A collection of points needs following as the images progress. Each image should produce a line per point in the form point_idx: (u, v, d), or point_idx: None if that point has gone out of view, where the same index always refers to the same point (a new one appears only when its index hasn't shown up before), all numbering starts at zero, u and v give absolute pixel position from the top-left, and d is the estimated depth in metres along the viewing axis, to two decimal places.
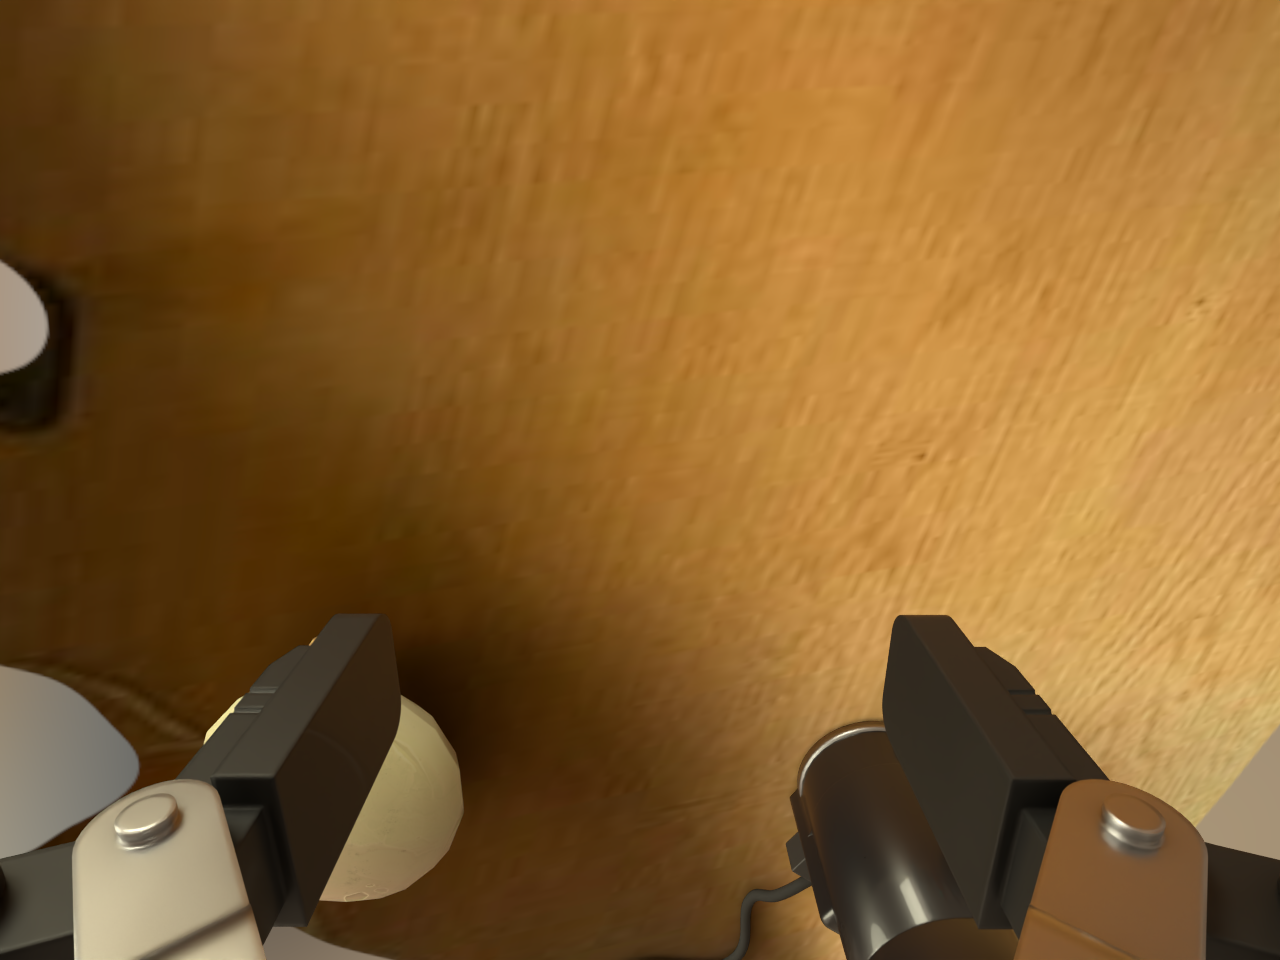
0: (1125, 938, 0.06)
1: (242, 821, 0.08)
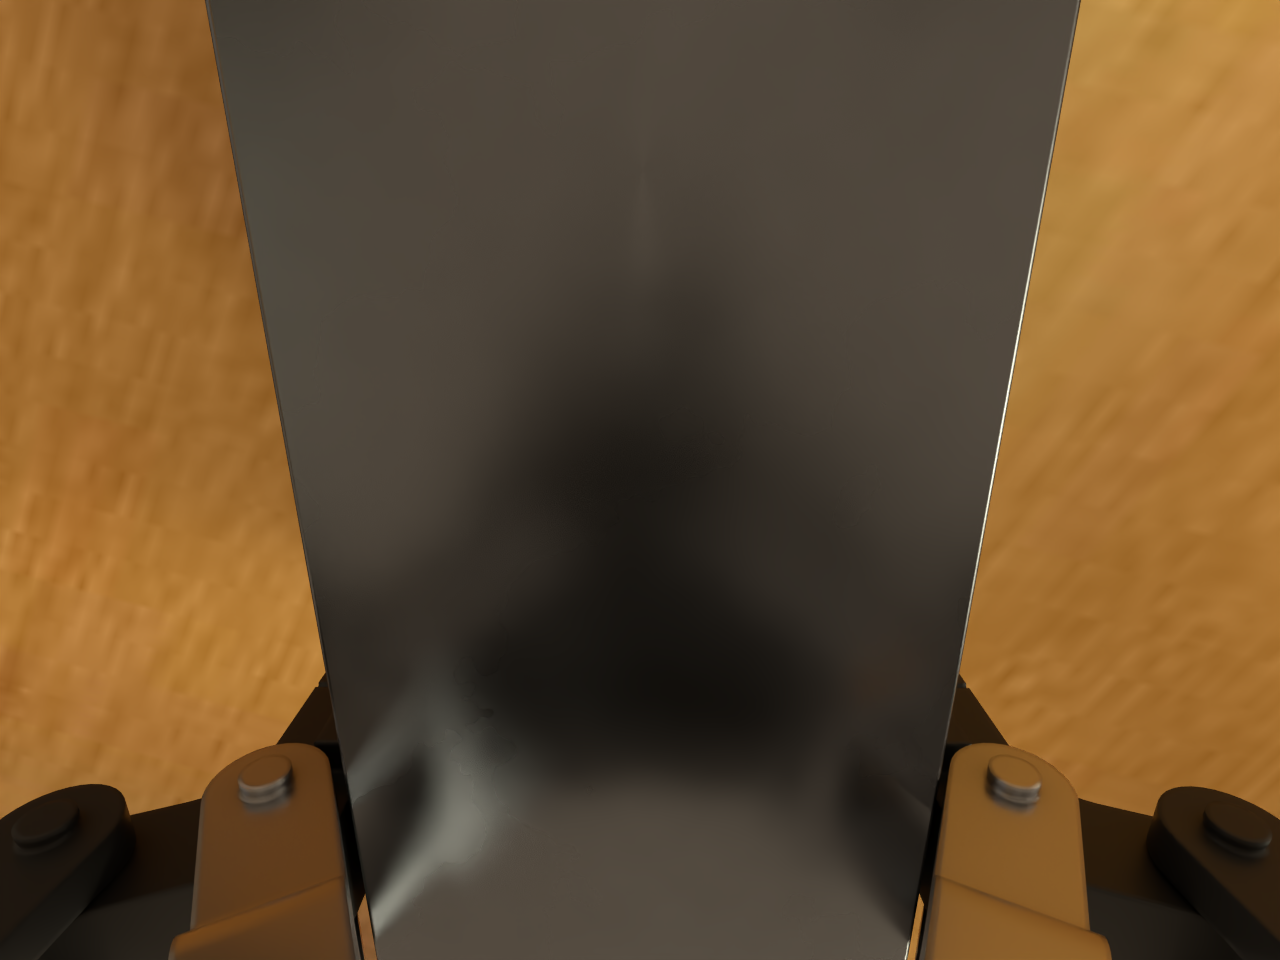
0: (987, 879, 0.06)
1: (345, 783, 0.08)
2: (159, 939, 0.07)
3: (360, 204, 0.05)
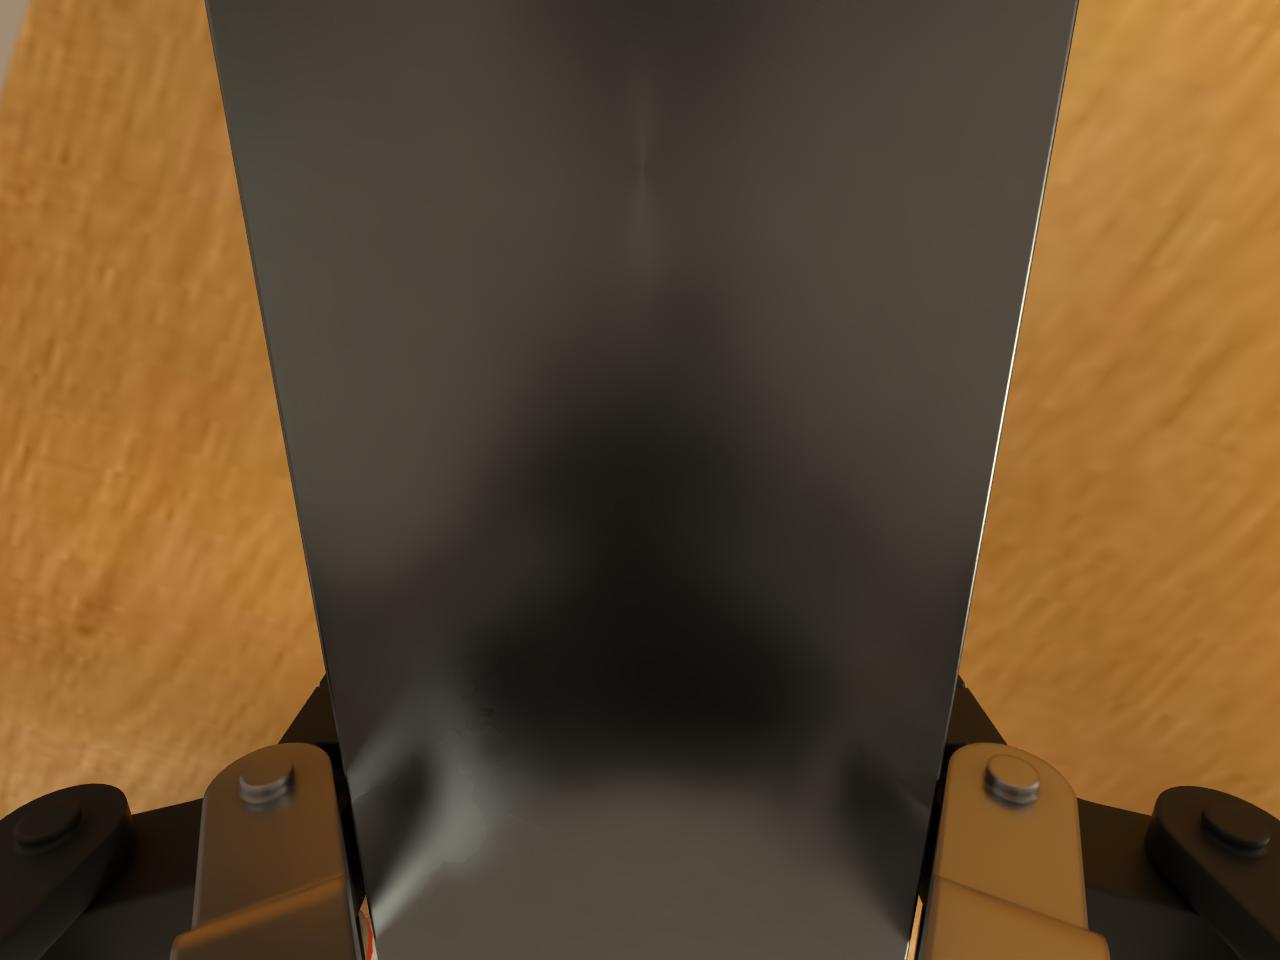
0: (985, 879, 0.06)
1: None
2: (160, 939, 0.07)
3: (359, 204, 0.05)
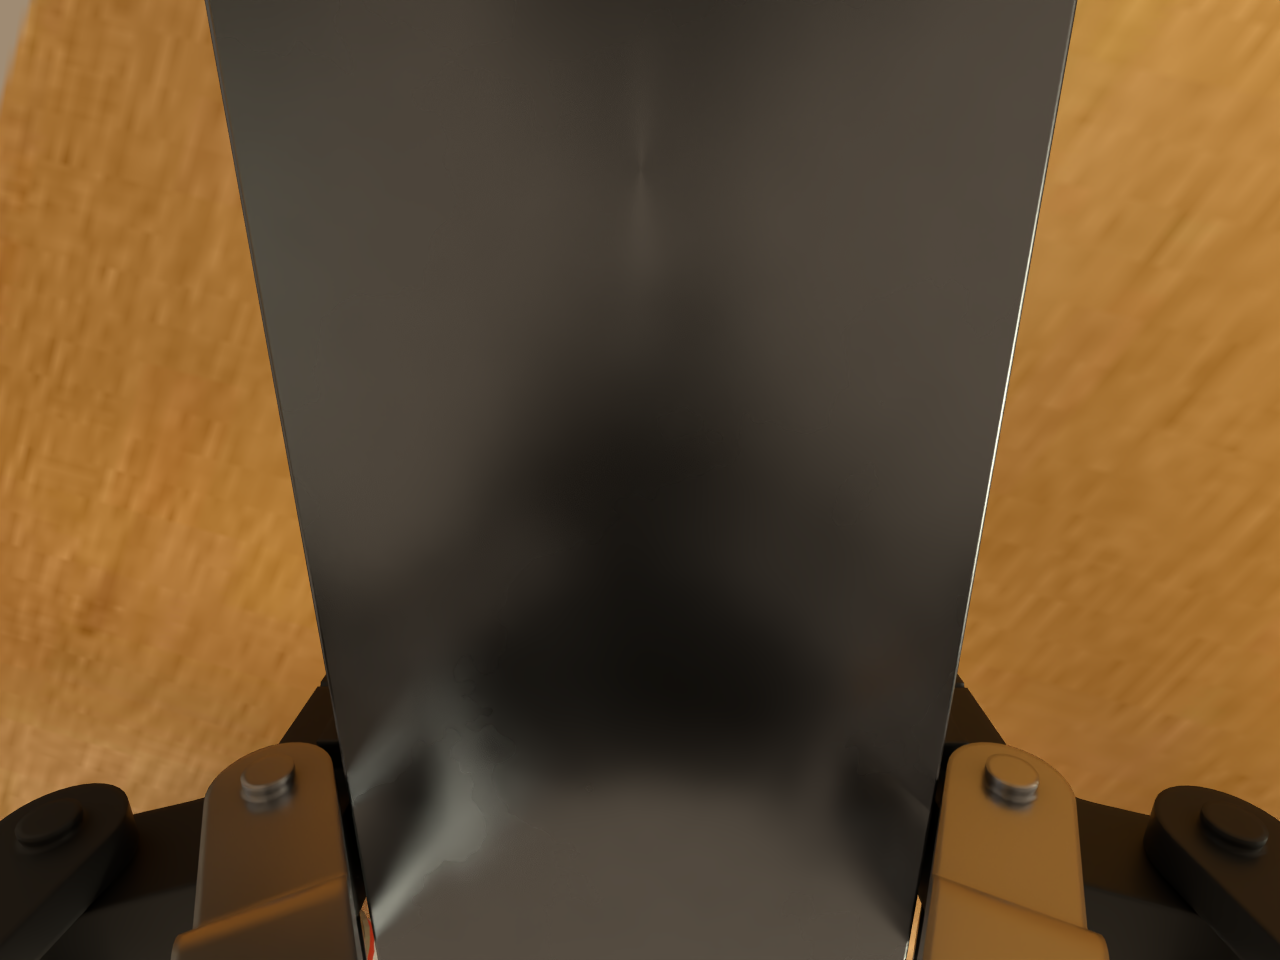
0: (984, 878, 0.06)
1: None
2: (162, 939, 0.07)
3: (358, 205, 0.06)
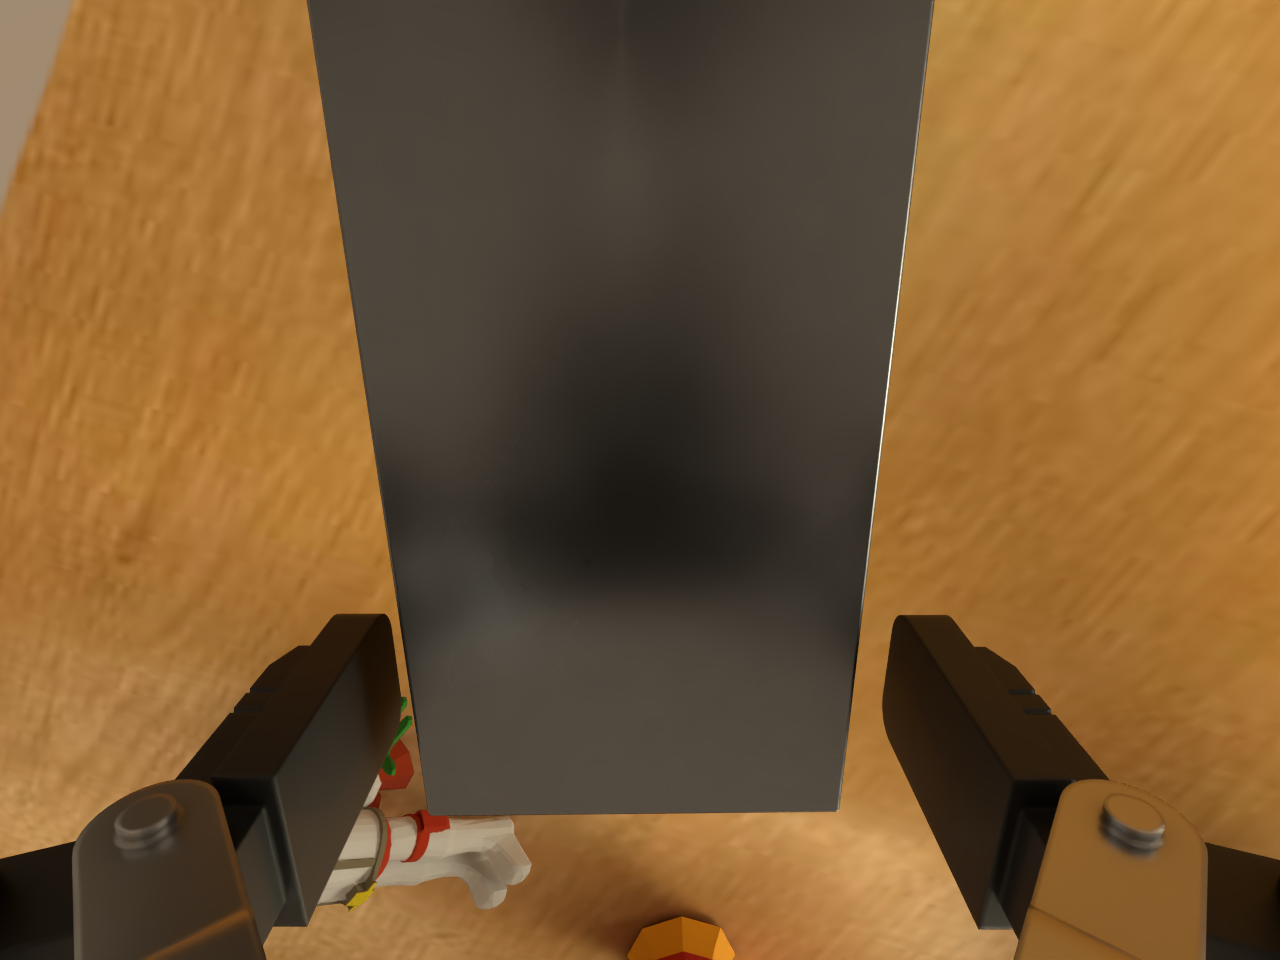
0: (1125, 938, 0.06)
1: (242, 821, 0.08)
2: None
3: (406, 61, 0.07)
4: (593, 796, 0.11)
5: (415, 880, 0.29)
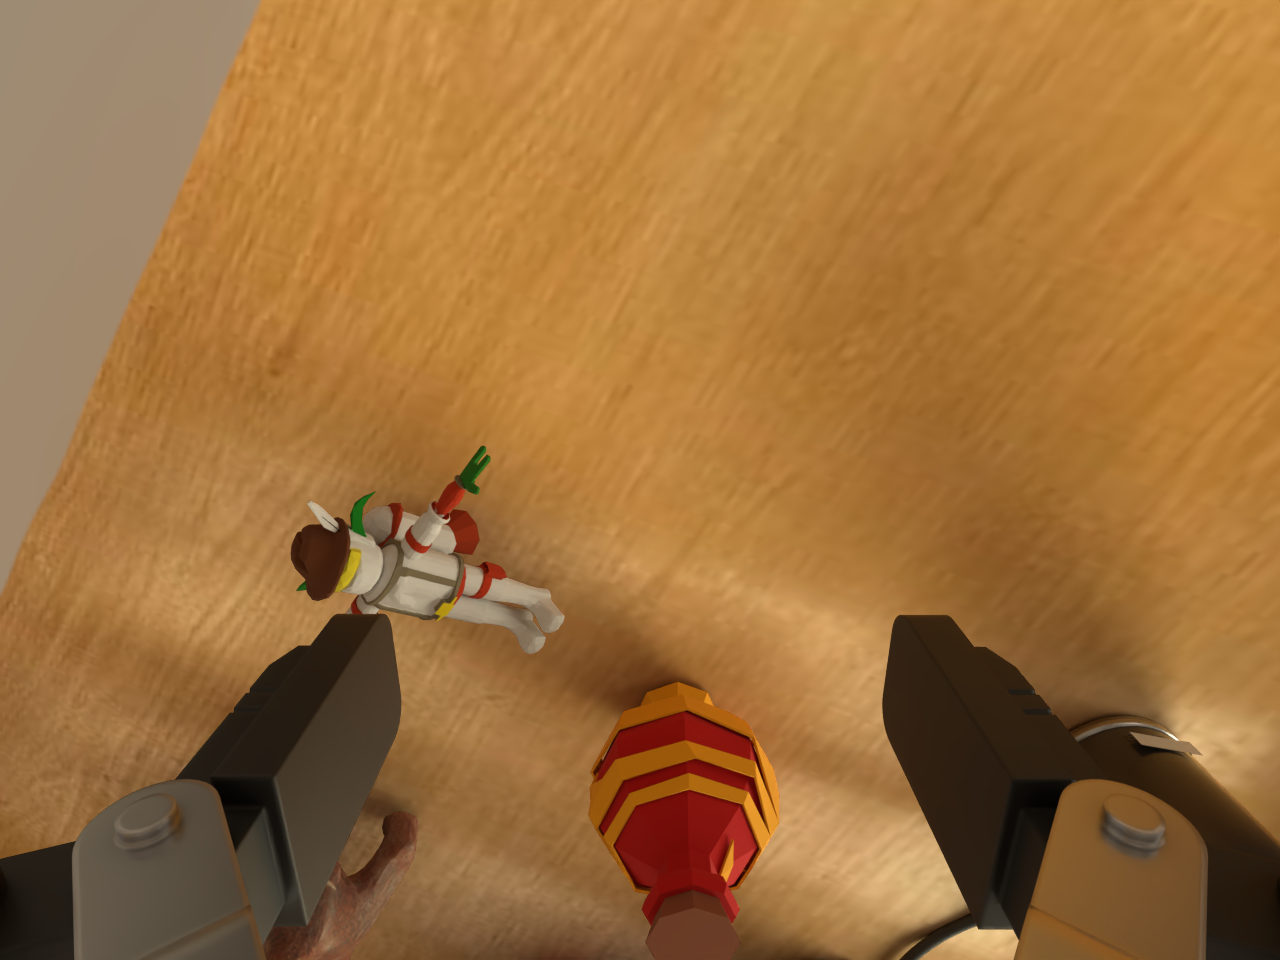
0: (1125, 937, 0.06)
1: (242, 821, 0.08)
2: None
3: None
4: None
5: (480, 618, 0.39)
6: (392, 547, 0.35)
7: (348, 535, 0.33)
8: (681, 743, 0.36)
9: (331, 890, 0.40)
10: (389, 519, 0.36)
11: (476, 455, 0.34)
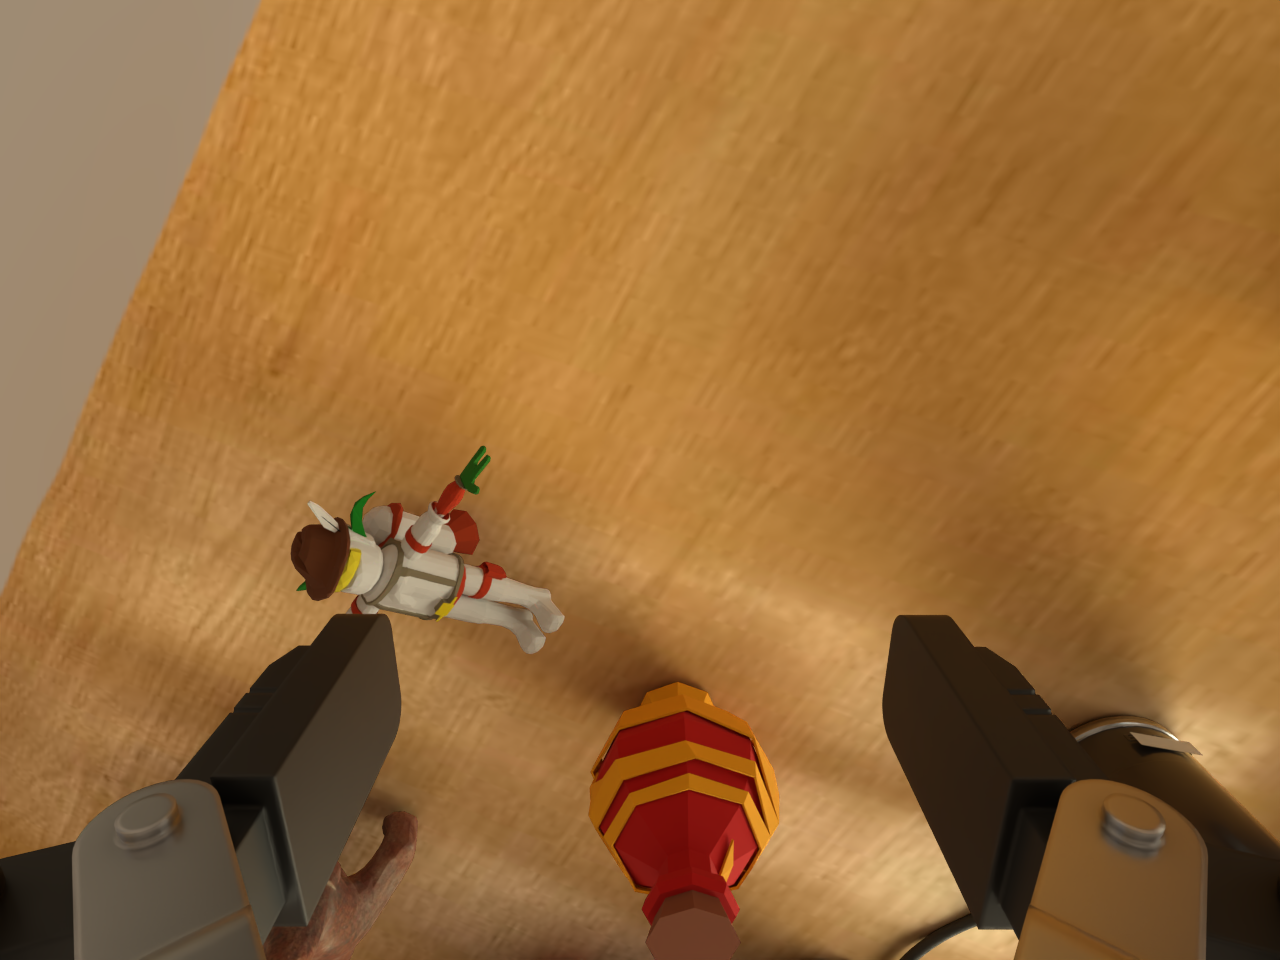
0: (1125, 937, 0.06)
1: (242, 821, 0.08)
2: None
3: None
4: None
5: (480, 618, 0.39)
6: (392, 547, 0.35)
7: (348, 535, 0.33)
8: (681, 743, 0.36)
9: (331, 890, 0.40)
10: (389, 519, 0.36)
11: (476, 455, 0.34)
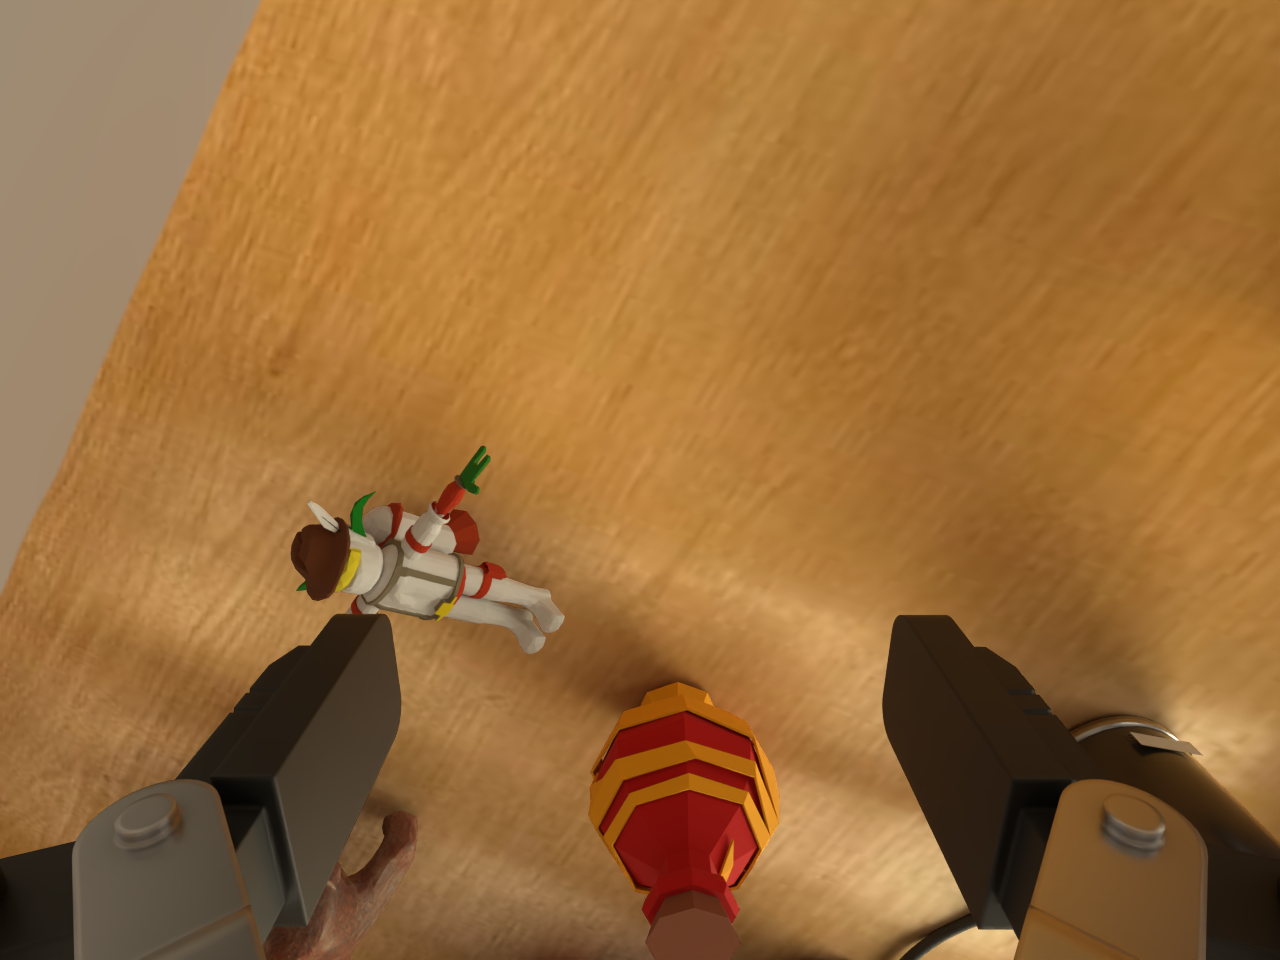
0: (1125, 937, 0.06)
1: (242, 821, 0.08)
2: None
3: None
4: None
5: (480, 618, 0.39)
6: (392, 547, 0.35)
7: (348, 535, 0.33)
8: (681, 743, 0.36)
9: (331, 890, 0.40)
10: (389, 519, 0.36)
11: (476, 455, 0.34)
